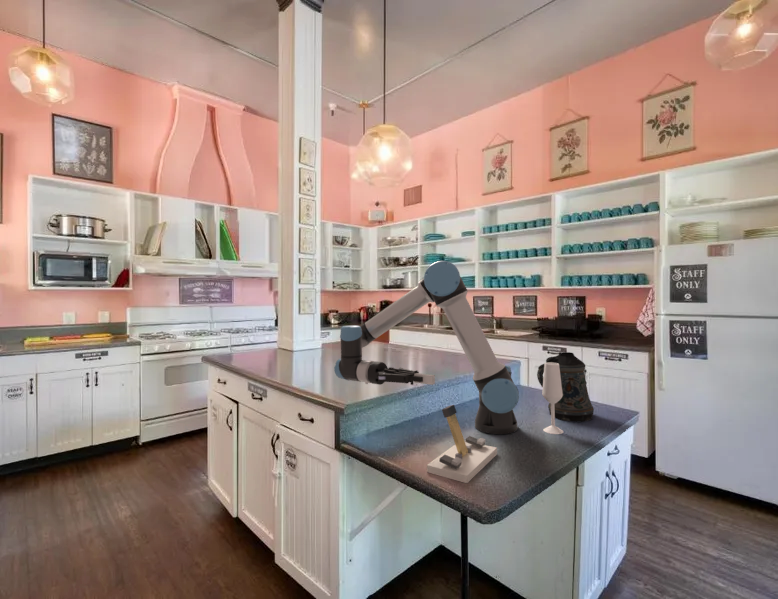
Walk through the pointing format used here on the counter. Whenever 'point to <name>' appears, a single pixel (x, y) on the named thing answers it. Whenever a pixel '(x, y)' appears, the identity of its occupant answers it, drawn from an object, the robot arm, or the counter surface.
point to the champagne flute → (552, 392)
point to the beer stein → (570, 389)
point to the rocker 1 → (451, 461)
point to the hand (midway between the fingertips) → (433, 379)
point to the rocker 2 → (476, 441)
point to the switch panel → (463, 462)
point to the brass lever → (455, 429)
